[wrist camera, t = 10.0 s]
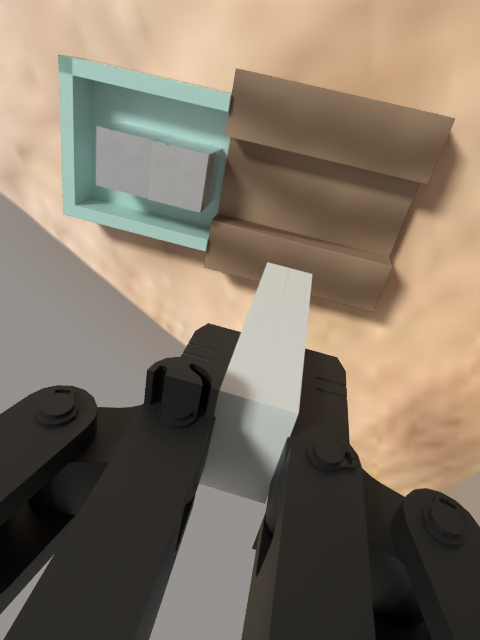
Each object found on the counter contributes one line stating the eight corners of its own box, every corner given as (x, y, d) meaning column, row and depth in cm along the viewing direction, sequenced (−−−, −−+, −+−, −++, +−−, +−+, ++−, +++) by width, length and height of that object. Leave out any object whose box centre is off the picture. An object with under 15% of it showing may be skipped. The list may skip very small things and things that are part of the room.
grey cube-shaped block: (122, 122, 31) (96, 126, 27) (171, 134, 31) (152, 139, 27) (120, 175, 33) (95, 185, 29) (166, 187, 33) (147, 198, 29)
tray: (83, 58, 30) (58, 54, 27) (240, 94, 29) (230, 94, 26) (84, 204, 35) (63, 214, 32) (215, 238, 35) (205, 251, 32)
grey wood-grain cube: (171, 135, 31) (152, 140, 27) (222, 147, 30) (208, 154, 27) (166, 188, 33) (147, 199, 29) (213, 200, 32) (200, 212, 29)
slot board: (244, 70, 28) (236, 68, 26) (443, 116, 27) (455, 118, 25) (212, 254, 35) (203, 267, 33) (369, 295, 34) (372, 311, 32)
